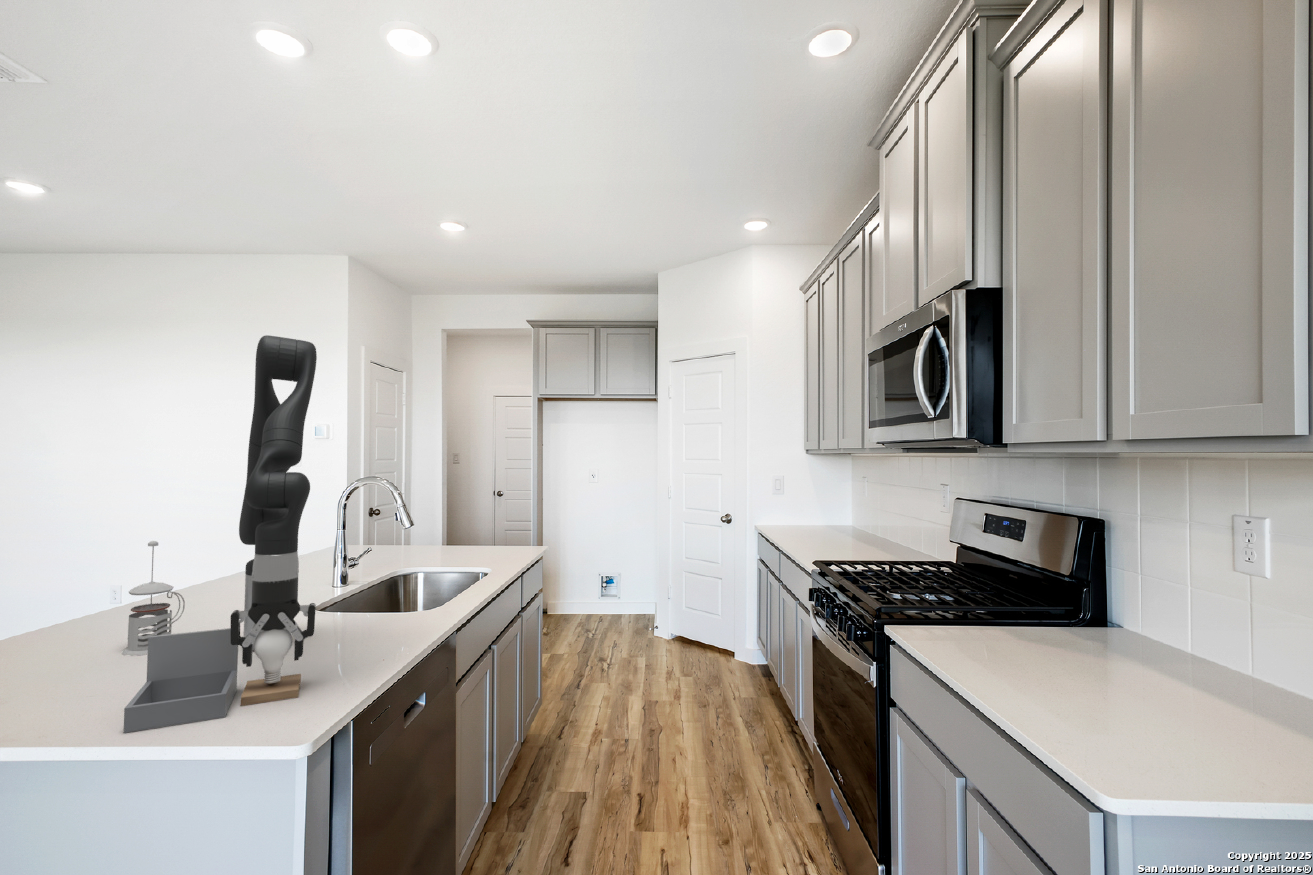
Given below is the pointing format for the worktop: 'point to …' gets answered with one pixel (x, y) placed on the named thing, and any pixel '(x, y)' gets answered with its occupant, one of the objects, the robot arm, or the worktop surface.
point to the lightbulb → (272, 652)
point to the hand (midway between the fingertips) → (273, 662)
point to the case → (185, 680)
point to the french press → (160, 612)
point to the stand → (271, 690)
